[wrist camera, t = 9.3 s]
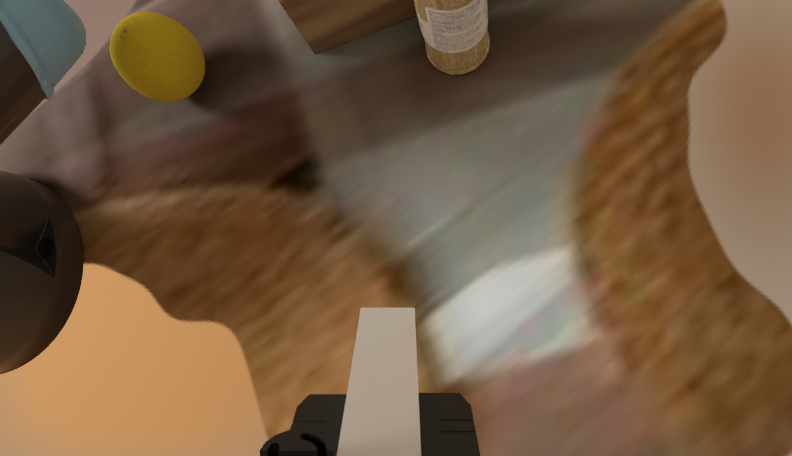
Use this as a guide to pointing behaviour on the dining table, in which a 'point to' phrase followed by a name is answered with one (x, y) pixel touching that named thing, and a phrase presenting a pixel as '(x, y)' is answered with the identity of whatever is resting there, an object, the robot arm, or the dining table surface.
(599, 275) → the dining table surface
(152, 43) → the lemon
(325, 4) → the walnut board
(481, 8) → the sprinkles bottle
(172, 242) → the dining table surface
